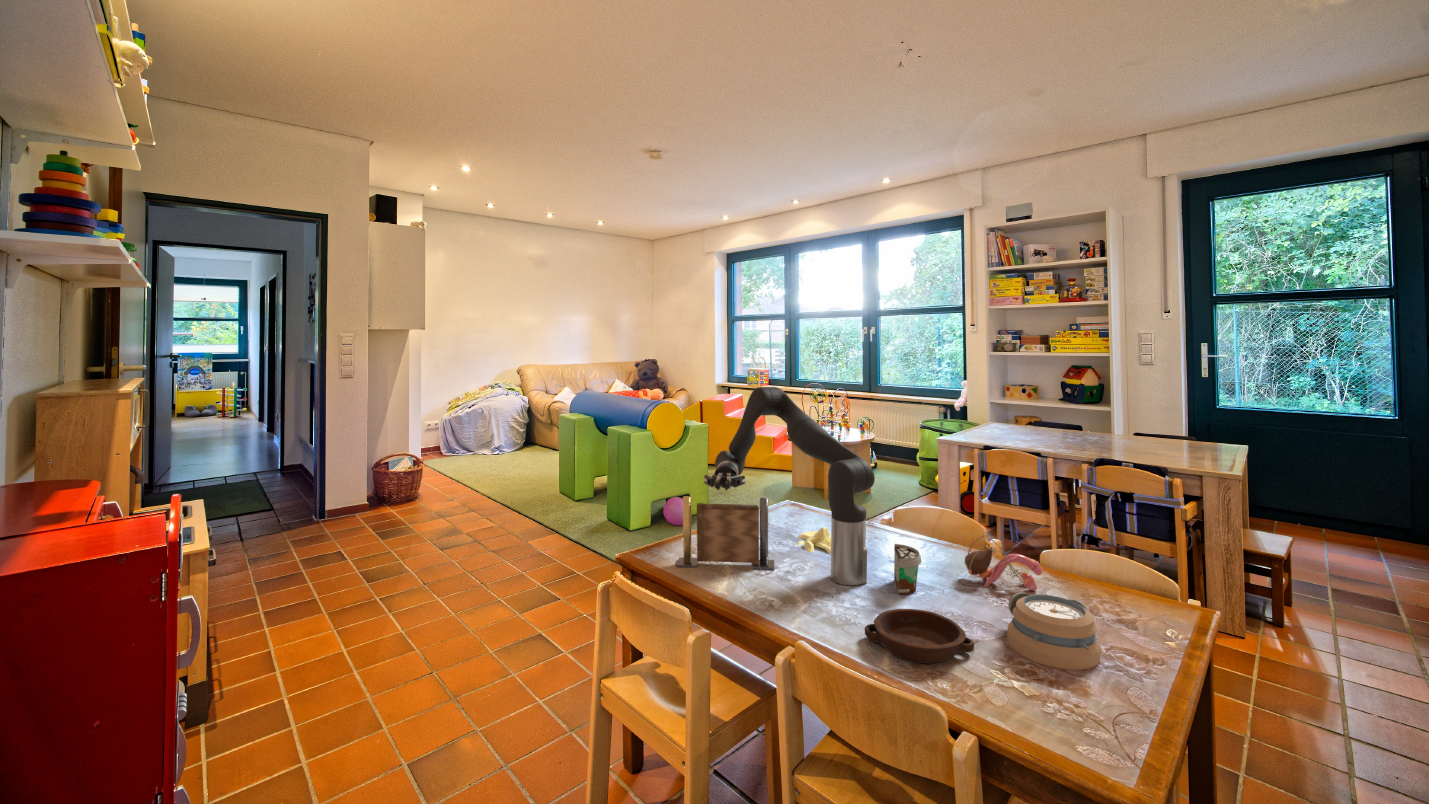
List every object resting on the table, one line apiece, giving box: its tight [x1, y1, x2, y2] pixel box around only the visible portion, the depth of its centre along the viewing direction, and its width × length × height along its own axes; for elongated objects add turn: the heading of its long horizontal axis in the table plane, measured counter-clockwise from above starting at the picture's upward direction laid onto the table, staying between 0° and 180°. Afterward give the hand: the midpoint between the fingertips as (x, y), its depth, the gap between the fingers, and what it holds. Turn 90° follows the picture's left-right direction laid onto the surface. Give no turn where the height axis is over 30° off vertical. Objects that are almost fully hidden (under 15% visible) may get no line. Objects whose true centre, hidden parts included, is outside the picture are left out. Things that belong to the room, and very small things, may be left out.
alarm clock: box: [1006, 591, 1102, 671], centre depth 124 cm, size 17×9×23 cm
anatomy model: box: [964, 533, 1043, 592], centre depth 154 cm, size 11×15×17 cm
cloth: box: [796, 527, 831, 555], centre depth 185 cm, size 22×19×6 cm
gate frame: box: [675, 495, 775, 571], centre depth 168 cm, size 28×6×20 cm, turn 85°
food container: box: [893, 543, 922, 596], centre depth 151 cm, size 12×6×10 cm, turn 168°
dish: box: [864, 608, 975, 664], centre depth 122 cm, size 18×22×5 cm
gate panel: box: [696, 502, 760, 564], centre depth 168 cm, size 18×2×17 cm, turn 85°
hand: (722, 486), depth 172 cm, fingers closed
